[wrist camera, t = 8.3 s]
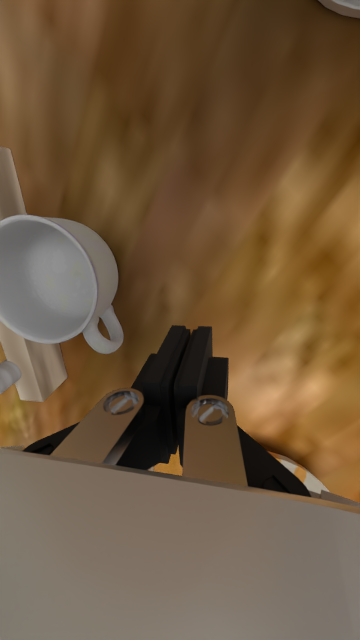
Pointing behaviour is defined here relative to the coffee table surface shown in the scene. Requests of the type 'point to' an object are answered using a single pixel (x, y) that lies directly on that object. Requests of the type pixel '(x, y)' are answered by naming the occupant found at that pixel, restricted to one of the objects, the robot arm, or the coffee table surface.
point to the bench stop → (22, 354)
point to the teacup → (57, 282)
